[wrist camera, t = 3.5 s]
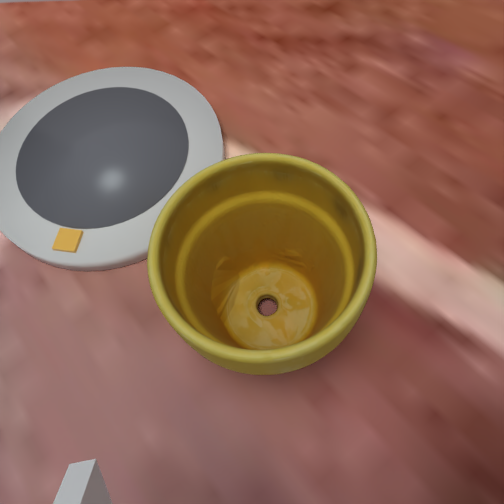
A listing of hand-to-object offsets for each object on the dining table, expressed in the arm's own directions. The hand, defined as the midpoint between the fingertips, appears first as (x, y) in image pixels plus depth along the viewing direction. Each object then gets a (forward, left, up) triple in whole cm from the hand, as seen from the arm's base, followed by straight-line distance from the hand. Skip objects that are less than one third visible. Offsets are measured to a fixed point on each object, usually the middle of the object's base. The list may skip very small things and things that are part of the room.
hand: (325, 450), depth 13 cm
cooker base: (-17, +18, -13) cm, 28 cm away
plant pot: (-3, +8, -13) cm, 16 cm away
